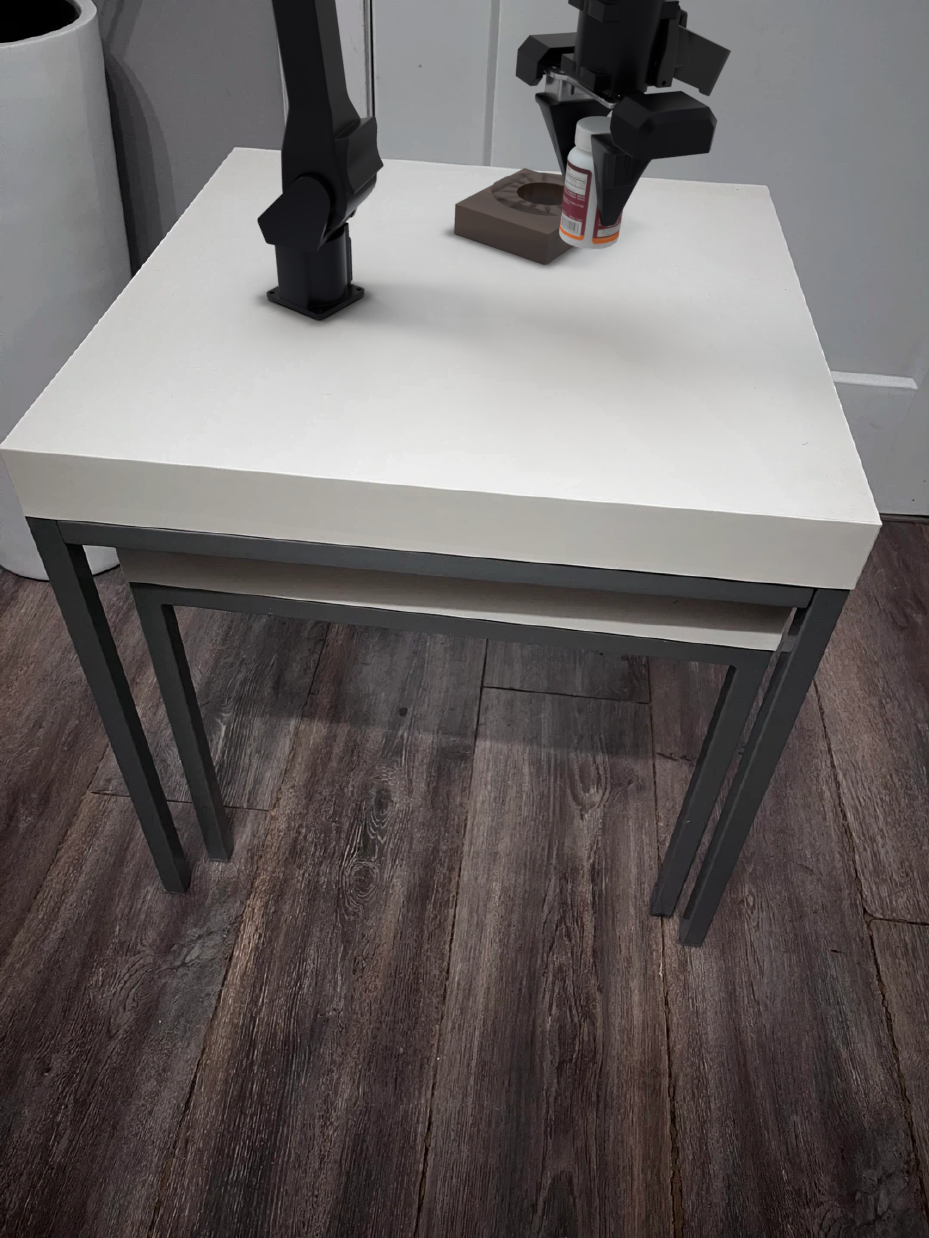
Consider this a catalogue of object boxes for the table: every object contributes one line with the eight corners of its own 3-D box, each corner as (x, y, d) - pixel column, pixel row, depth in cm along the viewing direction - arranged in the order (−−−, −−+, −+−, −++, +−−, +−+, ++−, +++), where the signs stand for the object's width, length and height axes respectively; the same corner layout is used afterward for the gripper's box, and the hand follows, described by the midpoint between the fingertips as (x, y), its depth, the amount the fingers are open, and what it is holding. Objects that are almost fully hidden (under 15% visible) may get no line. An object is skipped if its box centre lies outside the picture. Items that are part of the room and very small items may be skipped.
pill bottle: (617, 228, 78) (636, 117, 72) (617, 254, 75) (637, 139, 69) (559, 222, 78) (573, 111, 72) (556, 247, 75) (570, 132, 69)
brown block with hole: (546, 265, 95) (550, 235, 93) (452, 233, 99) (453, 203, 97) (616, 220, 103) (620, 191, 101) (526, 192, 108) (528, 164, 105)
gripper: (812, 7, 61) (747, 249, 72) (655, -58, 73) (619, 159, 84) (662, 16, 57) (618, 270, 68) (522, -54, 69) (504, 172, 80)
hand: (591, 212), depth 75 cm, fingers closed on pill bottle, 5 cm apart
